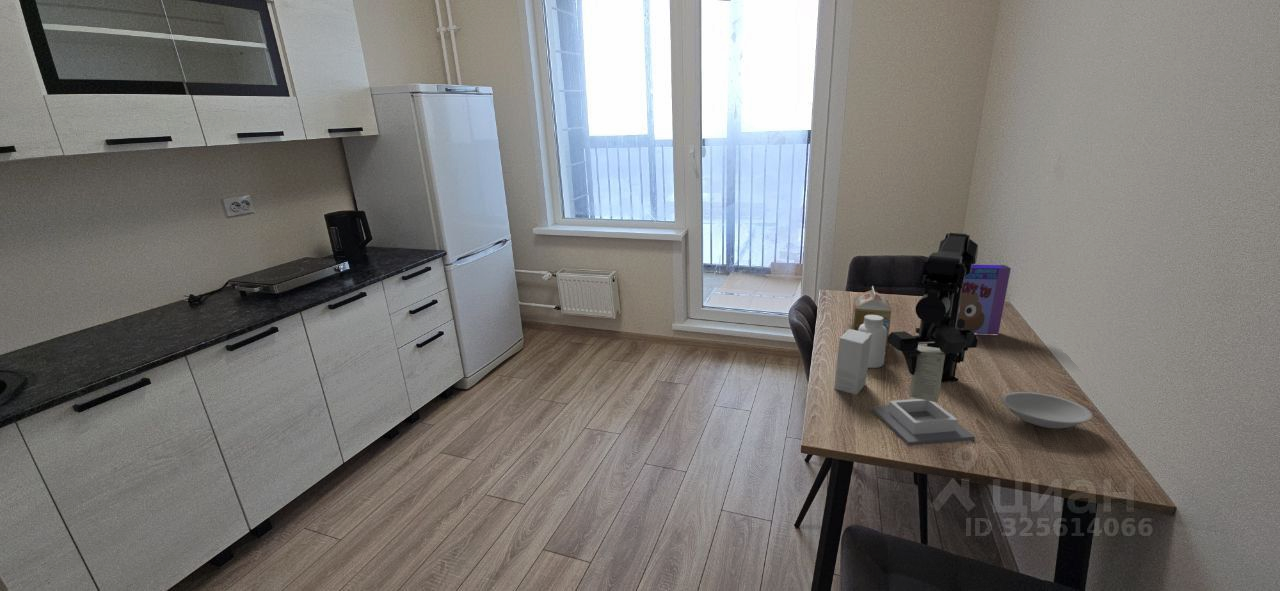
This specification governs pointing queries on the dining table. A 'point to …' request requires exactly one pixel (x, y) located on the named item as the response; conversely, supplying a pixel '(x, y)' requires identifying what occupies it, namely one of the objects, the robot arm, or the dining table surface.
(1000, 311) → the cereal box
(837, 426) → the dining table surface
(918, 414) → the socket stand
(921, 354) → the skincare box
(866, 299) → the milk carton
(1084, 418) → the dish
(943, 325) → the robot arm
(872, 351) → the pill bottle
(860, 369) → the skincare box
